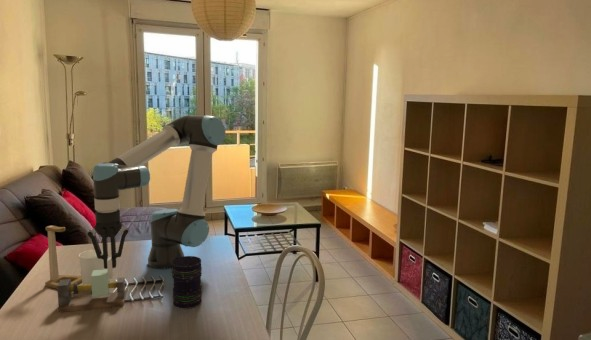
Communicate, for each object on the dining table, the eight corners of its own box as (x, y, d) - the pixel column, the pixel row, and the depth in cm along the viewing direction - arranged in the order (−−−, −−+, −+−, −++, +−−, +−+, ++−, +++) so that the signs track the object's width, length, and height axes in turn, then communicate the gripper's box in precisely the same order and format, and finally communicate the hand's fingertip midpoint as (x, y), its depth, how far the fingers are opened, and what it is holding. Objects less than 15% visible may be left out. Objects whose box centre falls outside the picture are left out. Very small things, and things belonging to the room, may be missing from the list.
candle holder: (80, 291, 153) (78, 259, 151) (80, 281, 162) (78, 251, 160) (109, 286, 158) (108, 255, 156) (108, 276, 166) (106, 247, 165)
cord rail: (125, 295, 151) (124, 272, 150) (123, 305, 143) (122, 281, 142) (63, 301, 145) (61, 278, 144) (57, 312, 138) (56, 287, 136)
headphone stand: (66, 291, 153) (62, 232, 150) (40, 287, 155) (36, 230, 152) (86, 279, 163) (83, 224, 160) (61, 276, 166) (58, 222, 162)
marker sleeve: (110, 289, 148) (109, 269, 147) (108, 295, 143) (107, 274, 142) (94, 290, 146) (93, 270, 145) (92, 297, 142) (90, 276, 140)
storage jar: (168, 300, 148) (167, 259, 145) (194, 293, 154) (194, 254, 151) (179, 311, 140) (178, 268, 138) (206, 303, 146) (206, 262, 143)
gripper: (129, 206, 146) (131, 270, 150) (87, 208, 143) (91, 274, 146) (127, 211, 139) (130, 279, 143) (84, 213, 135) (88, 283, 139)
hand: (110, 276), depth 145 cm, fingers closed
